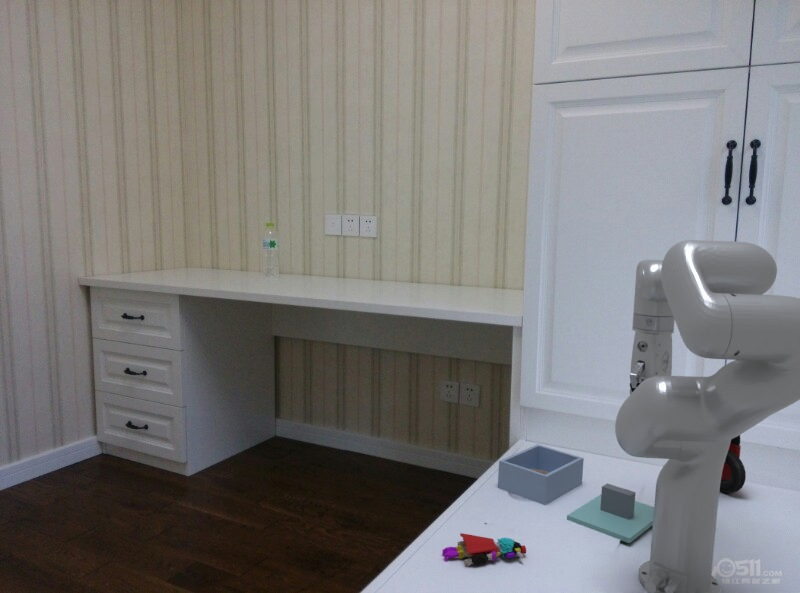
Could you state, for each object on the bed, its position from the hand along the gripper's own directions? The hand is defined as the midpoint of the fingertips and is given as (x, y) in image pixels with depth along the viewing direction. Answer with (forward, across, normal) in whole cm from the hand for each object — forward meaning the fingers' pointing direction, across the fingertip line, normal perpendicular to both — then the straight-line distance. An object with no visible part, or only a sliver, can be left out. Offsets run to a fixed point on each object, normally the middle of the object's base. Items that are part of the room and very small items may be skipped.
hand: (647, 410), depth 128 cm
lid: (+24, -1, +4) cm, 24 cm away
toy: (+25, -32, +16) cm, 43 cm away
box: (+24, +2, +23) cm, 33 cm away
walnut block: (+23, -1, +22) cm, 32 cm away
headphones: (+24, +26, -5) cm, 35 cm away
